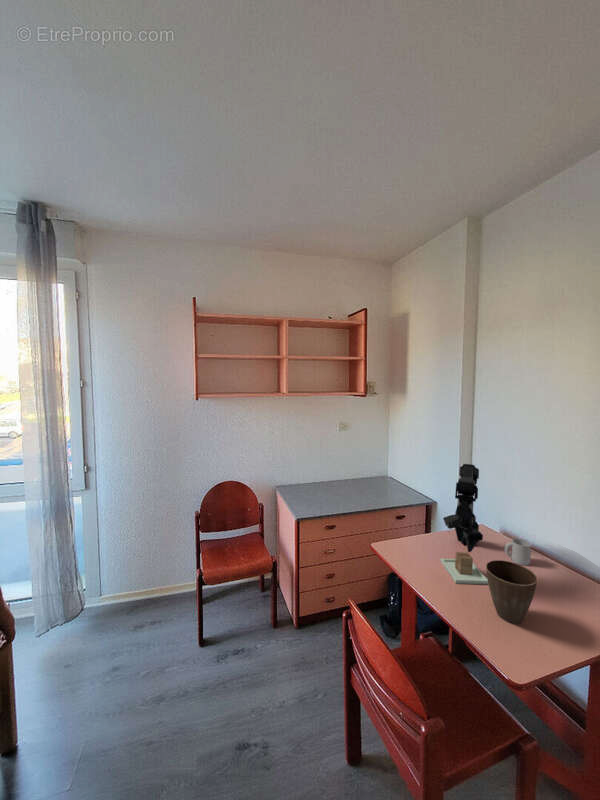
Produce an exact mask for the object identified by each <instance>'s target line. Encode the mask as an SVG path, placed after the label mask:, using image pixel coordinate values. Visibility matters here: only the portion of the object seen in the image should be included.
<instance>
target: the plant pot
mask: <svg viewBox="0 0 600 800" xmlns="http://www.w3.org/2000/svg"><path fill="white" fill-rule="evenodd" d="M485 571H486V576H487V577H486V578H487V579H488V584H489V585H488V588H489V593H490V595H491V596H490V597H491V599H492V602H493V605H494V609H495V611H496V614H497V615H498V616H499V618H501V619H502V621H505V622H507V623H510V624H520V623H522V621H523V620H524V618H525V617H526V615H527V613H528V611H529V609H530V606H531V605H532V602H533V600H534V599H533V598H534V595H535V593H536V588H537V584H538V577H537V575H536V574H535V573H534V572H533V571H531V569H528V567H525V566H524V565H520V564H517V563H515V562H513V561H508V560H498V559H497V560H496V559H494V560H490V561H489V562H486V564H485Z"/></svg>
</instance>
